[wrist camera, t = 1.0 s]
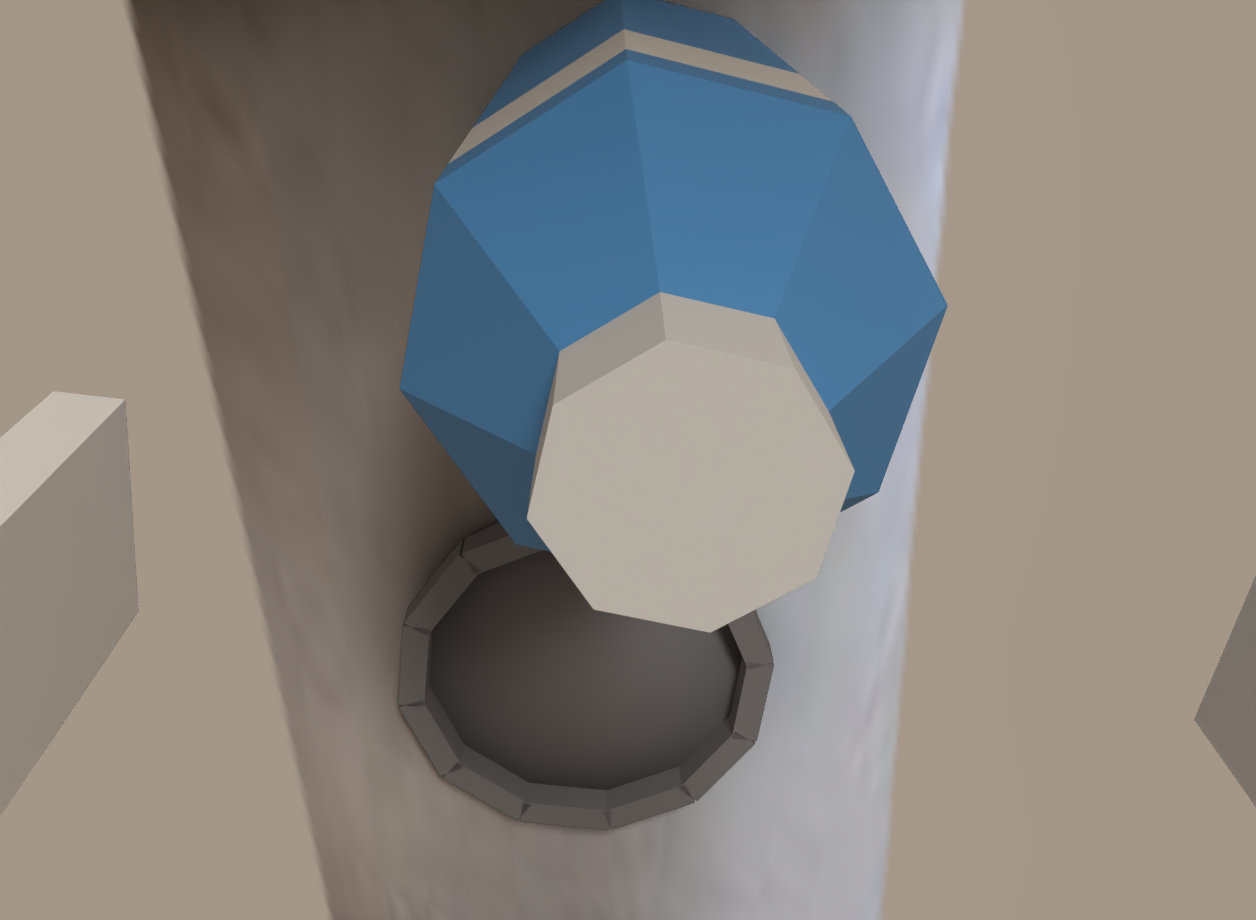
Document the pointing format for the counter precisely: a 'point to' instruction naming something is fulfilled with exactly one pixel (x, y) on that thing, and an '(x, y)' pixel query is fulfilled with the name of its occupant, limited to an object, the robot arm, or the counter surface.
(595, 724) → the coaster ring
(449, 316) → the water bottle
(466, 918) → the counter surface
